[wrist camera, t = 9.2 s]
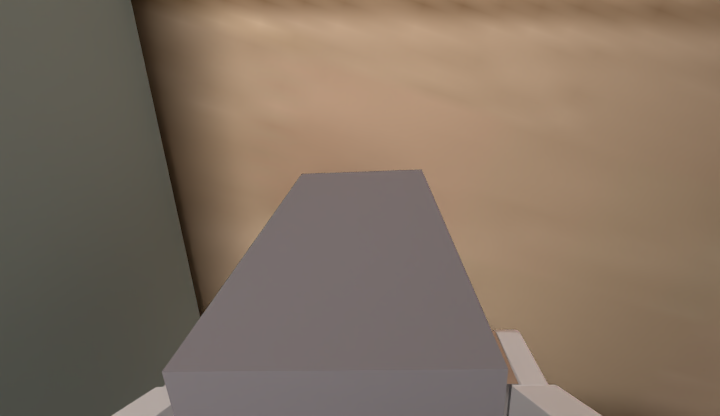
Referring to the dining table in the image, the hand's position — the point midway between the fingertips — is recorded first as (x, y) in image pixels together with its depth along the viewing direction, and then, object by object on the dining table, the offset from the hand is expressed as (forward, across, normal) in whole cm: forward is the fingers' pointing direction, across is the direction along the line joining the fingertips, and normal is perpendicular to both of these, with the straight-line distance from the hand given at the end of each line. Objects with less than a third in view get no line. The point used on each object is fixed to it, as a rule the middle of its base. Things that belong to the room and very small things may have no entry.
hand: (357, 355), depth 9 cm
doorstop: (+5, 0, 0) cm, 5 cm away
